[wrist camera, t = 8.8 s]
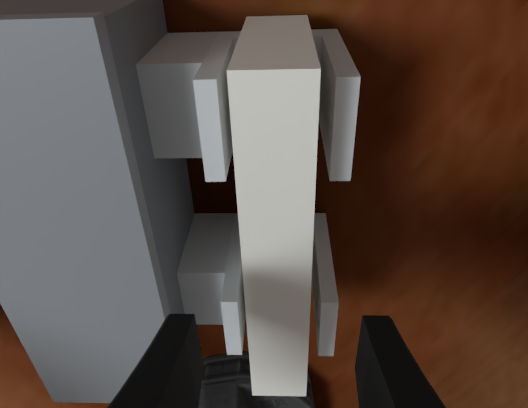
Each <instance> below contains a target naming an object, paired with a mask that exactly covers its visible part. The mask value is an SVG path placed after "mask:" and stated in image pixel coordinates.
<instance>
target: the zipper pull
mask: <svg viewBox="0 0 528 408" xmlns="http://www.w3.org/2000/svg"><path fill="white" fill-rule="evenodd" d="M203 365H204V366H203V374H202V383H201V391H200V399H199V406H198V408H315V404H314V398H313V392H312V386H311V380H310V376H309V375H308V374H307V392H306V396H252V386H251V374H250V361H249V352H244V351H242V355H227V354H221V355H215V356H209V357H206V358H204V359H203Z"/></svg>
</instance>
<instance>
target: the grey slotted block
mask: <svg viewBox="0 0 528 408" xmlns="http://www.w3.org/2000/svg"><path fill="white" fill-rule="evenodd" d="M311 31H312V35H313V39H314V43H315V47H316V51H317V55H318V59H319V63H320V67H321V79H320V101H319V124H320V130H321V136H322V141H323V147H324V152H325V158H326V164H327V169H328V175H329V181H351V172H352V162H353V152H354V141H355V131H356V121H357V111H358V101H359V90H360V80H361V76H360V74H359V72H358V70H357V68H356V66H355V64H354V62H353V60H352V58H351V56H350V54H349V52H348V50H347V48H346V46H345V44H344V42H343V40H342V38H341V35H340V33H339V31H338V29H311ZM240 33H241V31H225V32H183V33H167V26H166V19H165V12H164V6H163V0H0V304H1V306H2V308H3V310H4V312H5V313H6V315H7V317H8V319H9V321H10V323H11V325H12V326H13V328H14V330H15V332H16V334H17V336H18V337H19V339H20V341H21V343H22V345H23V347H24V348H25V350H26V352H27V354H28V356H29V358H30V360H31V361H32V363H33V365H34V367H35V369H36V371H37V372H38V374H39V376H40V378H41V380H42V382H43V384H44V385H45V387H46V389H47V391H48V393H49V395H50V396H51V398H52V400H53V402H78V403H111V402H112V400H113V399H114V397H115V396H116V395H117V393H118V392H119V390H120V389H121V387H122V386H123V385H124V383H125V382H126V380H127V379H128V377H129V376H130V374H131V373H132V371H133V370H134V368H135V367H136V366H137V364H138V362H139V361H140V359H141V358H142V356H143V355H144V353H145V352H146V350H147V348H148V347H149V345H150V344H151V342H152V340H153V339H154V337H155V335H156V334H157V332H158V330H159V329H160V327H161V325H162V324H163V322H164V320H165V318H166V317H167V316H168V315H169V314H195V320H196V324H204V325H223V326H224V334H225V342H226V350H227V355H242V351H243V340H244V329H245V319H246V311H245V298H244V285H243V273H242V260H241V247H240V235H239V222H238V213H194V207H193V200H192V193H191V187H190V180H189V173H188V167H187V160H186V158H202V159H203V167H204V175H205V182H226V179H227V174H228V170H229V165H230V161H231V156H232V151H233V146H232V134H231V121H230V108H229V96H228V83H227V71H226V70H227V68H228V65H229V62H230V60H231V57H232V54H233V52H234V49H235V46H236V44H237V41H238V38H239V36H240ZM312 286H313V299H314V311H315V323H316V336H317V348H318V356H334V346H335V335H336V325H337V315H338V305H339V301H338V294H337V288H336V281H335V274H334V267H333V260H332V253H331V246H330V239H329V232H328V226H327V219H326V213H314V235H313V258H312Z"/></svg>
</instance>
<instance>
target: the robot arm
mask: <svg viewBox="0 0 528 408" xmlns="http://www.w3.org/2000/svg"><path fill="white" fill-rule="evenodd" d="M203 366H204V365H203V359H202V354H201V348H200V342H199V337H198V331H197V326H196V320H195V314H169V315H168V316H167V317H166V318H165V320H164V322H163V324H162V325H161V327H160V329H159V330H158V332H157V334H156V335H155V337H154V339H153V340H152V342H151V344H150V345H149V347H148V348H147V350H146V352H145V353H144V355H143V356H142V358H141V359H140V361H139V362H138V364H137V366H136V367H135V368H134V370H133V371H132V373H131V374H130V376H129V377H128V379H127V380H126V382H125V383H124V385H123V386H122V387H121V389H120V390H119V392H118V393H117V395H116V396H115V397H114V399H113V400H112V402H111V403H110V404H109V406H108V407H107V408H198V406H199V399H200V391H201V383H202V374H203ZM355 373H356V382H357V392H358V400H359V408H446V407H445V406H444V404H443V403H442V401H441V400H440V398H439V397H438V395H437V394H436V392H435V391H434V389H433V388H432V386H431V385H430V383H429V382H428V380H427V379H426V377H425V376H424V374H423V372H422V371H421V369H420V368H419V366H418V364H417V363H416V361H415V359H414V358H413V356H412V354H411V353H410V351H409V349H408V348H407V346H406V344H405V342H404V341H403V339H402V337H401V335H400V333H399V332H398V330H397V328H396V326H395V324H394V322H393V320H392V319H391V318H390V317H389V316H362V323H361V330H360V337H359V343H358V350H357V357H356V364H355Z"/></svg>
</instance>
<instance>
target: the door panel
mask: <svg viewBox="0 0 528 408" xmlns="http://www.w3.org/2000/svg"><path fill="white" fill-rule="evenodd" d="M226 71H227V83H228V96H229V108H230V121H231V134H232V146H233V159H234V172H235V184H236V197H237V210H238V222H239V235H240V247H241V260H242V273H243V285H244V298H245V311H246V323H247V336H248V348H249V361H250V374H251V386H252V396H306V392H307V369H308V347H309V325H310V302H311V280H312V258H313V235H314V213H315V191H316V168H317V146H318V123H319V101H320V79H321V67H320V63H319V59H318V55H317V51H316V47H315V43H314V39H313V35H312V31H311V27H310V24H309V20H308V16H307V15H288V16H249V17H246V20H245V22H244V25H243V28H242V30H241V33H240V36H239V38H238V41H237V44H236V46H235V49H234V52H233V54H232V57H231V60H230V62H229V65H228V68H227V70H226Z"/></svg>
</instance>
